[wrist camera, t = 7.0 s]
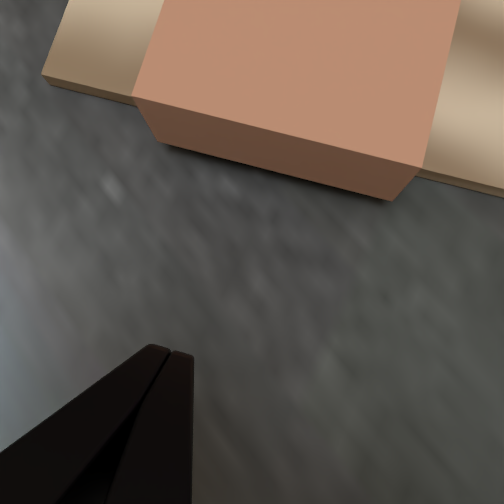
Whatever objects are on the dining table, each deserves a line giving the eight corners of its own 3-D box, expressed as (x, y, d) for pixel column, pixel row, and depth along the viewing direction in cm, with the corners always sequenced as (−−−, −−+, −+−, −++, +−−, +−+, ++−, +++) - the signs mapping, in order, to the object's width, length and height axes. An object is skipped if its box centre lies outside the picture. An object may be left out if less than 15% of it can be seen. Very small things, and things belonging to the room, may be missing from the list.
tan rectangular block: (422, 168, 14) (488, -117, 16) (131, 95, 15) (222, -169, 16) (390, 203, 18) (446, -30, 19) (159, 144, 18) (231, -76, 20)
